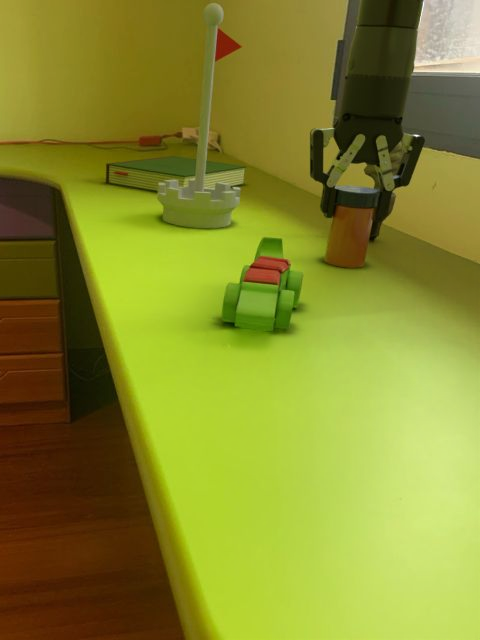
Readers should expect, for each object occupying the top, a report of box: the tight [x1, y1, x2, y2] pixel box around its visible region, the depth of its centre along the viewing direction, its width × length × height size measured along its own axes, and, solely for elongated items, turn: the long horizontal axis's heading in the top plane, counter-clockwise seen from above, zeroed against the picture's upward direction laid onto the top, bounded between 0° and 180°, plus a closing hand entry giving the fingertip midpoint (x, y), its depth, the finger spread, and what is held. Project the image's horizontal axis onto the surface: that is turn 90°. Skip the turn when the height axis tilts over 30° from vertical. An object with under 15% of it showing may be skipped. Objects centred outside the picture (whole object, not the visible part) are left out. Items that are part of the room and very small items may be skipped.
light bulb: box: [363, 141, 404, 242], centre depth 101 cm, size 6×6×15 cm
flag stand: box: [156, 2, 243, 229], centre depth 104 cm, size 13×13×30 cm
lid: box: [335, 184, 381, 207], centre depth 88 cm, size 6×6×2 cm
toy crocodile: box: [221, 236, 304, 332], centre depth 69 cm, size 20×7×6 cm, turn 164°
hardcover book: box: [105, 155, 247, 193], centre depth 143 cm, size 25×19×4 cm
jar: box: [323, 203, 375, 269], centre depth 90 cm, size 5×5×9 cm
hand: (351, 217), depth 89 cm, fingers closed on lid, 5 cm apart
